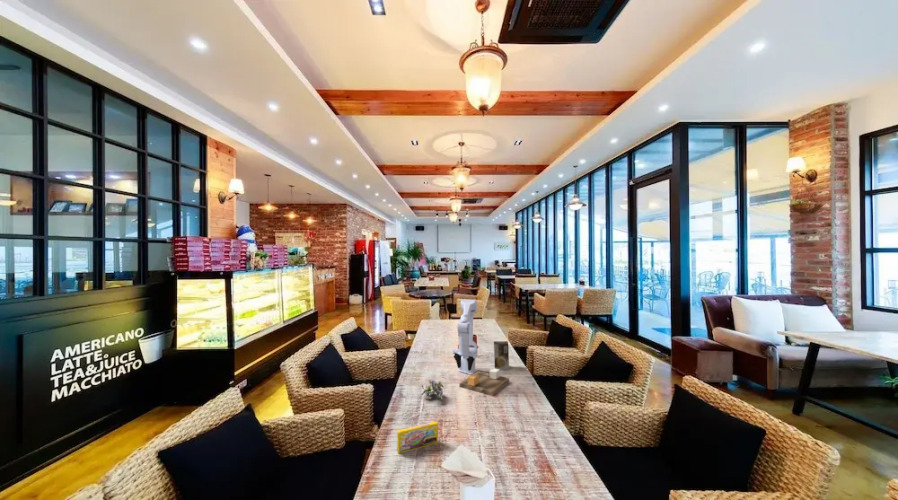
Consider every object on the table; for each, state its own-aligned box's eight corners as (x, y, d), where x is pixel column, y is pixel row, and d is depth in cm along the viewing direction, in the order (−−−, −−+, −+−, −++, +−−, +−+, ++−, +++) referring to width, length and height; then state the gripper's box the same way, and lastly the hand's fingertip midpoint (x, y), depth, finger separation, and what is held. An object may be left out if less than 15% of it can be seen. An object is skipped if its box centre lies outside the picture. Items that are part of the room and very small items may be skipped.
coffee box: (508, 366, 210) (507, 341, 209) (509, 369, 203) (508, 344, 203) (494, 365, 211) (493, 340, 210) (494, 369, 204) (494, 343, 204)
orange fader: (467, 384, 177) (467, 376, 177) (472, 381, 181) (472, 373, 181) (474, 386, 175) (473, 378, 175) (478, 382, 179) (478, 375, 179)
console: (458, 387, 179) (458, 384, 179) (478, 374, 197) (478, 370, 197) (490, 396, 167) (490, 392, 167) (509, 381, 186) (509, 377, 186)
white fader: (489, 377, 185) (489, 370, 185) (493, 375, 189) (493, 368, 189) (496, 379, 183) (495, 372, 183) (499, 376, 187) (499, 369, 187)
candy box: (398, 454, 122) (398, 432, 122) (396, 451, 124) (396, 429, 124) (438, 443, 129) (438, 422, 128) (436, 440, 131) (436, 420, 130)
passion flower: (440, 409, 166) (445, 396, 159) (419, 407, 164) (423, 394, 158) (440, 389, 175) (445, 375, 169) (420, 387, 174) (424, 373, 167)
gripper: (449, 344, 182) (449, 368, 182) (471, 348, 174) (472, 373, 174) (456, 341, 188) (456, 364, 188) (478, 345, 179) (478, 369, 180)
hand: (464, 368), depth 181 cm, fingers open, 6 cm apart
